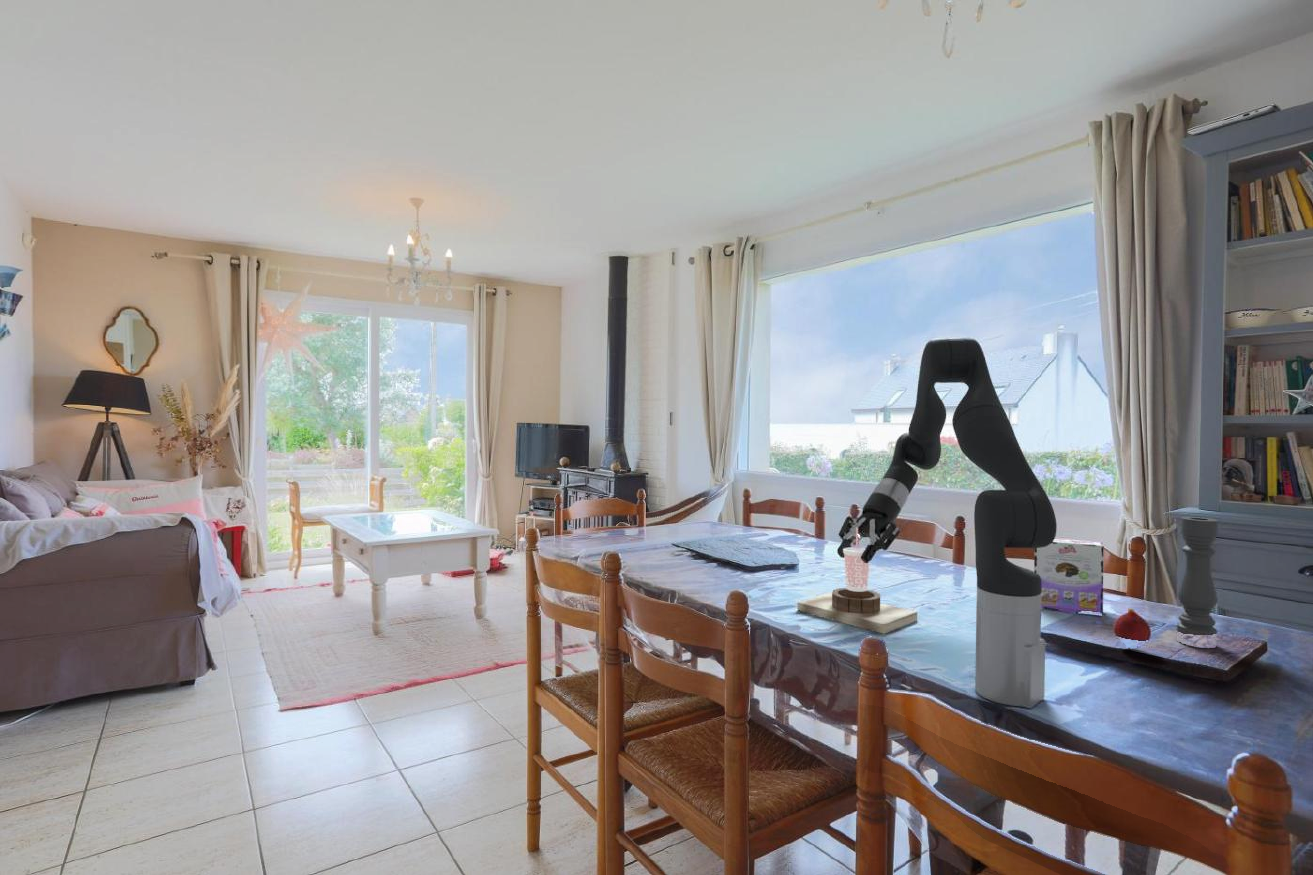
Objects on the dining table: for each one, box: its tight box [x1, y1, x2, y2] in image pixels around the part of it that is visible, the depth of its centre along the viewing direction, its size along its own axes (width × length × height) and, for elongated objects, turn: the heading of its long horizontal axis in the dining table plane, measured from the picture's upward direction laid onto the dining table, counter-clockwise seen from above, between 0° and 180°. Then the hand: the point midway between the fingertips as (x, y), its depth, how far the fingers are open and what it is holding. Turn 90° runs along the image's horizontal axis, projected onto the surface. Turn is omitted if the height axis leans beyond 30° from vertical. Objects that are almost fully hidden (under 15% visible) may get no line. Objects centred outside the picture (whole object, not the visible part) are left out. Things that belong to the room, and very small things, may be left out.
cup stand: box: [796, 587, 918, 635], centre depth 150 cm, size 22×14×5 cm, turn 41°
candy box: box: [1033, 538, 1104, 614], centre depth 155 cm, size 14×6×16 cm, turn 58°
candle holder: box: [1176, 516, 1219, 635], centre depth 132 cm, size 6×6×25 cm
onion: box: [1113, 607, 1152, 641], centre depth 128 cm, size 6×6×8 cm
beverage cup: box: [843, 528, 870, 592], centre depth 150 cm, size 6×6×14 cm
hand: (851, 557), depth 149 cm, fingers closed on beverage cup, 6 cm apart
